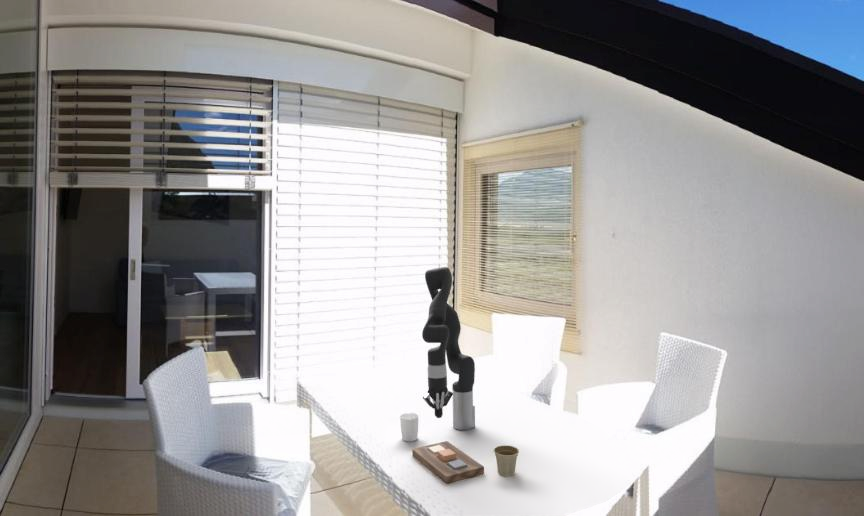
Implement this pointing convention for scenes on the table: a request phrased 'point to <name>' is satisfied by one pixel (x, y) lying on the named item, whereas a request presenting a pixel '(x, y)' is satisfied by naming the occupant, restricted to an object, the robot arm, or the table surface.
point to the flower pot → (506, 459)
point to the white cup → (409, 426)
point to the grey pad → (457, 464)
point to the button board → (442, 467)
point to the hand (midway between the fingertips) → (438, 417)
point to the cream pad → (435, 449)
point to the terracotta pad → (446, 455)
